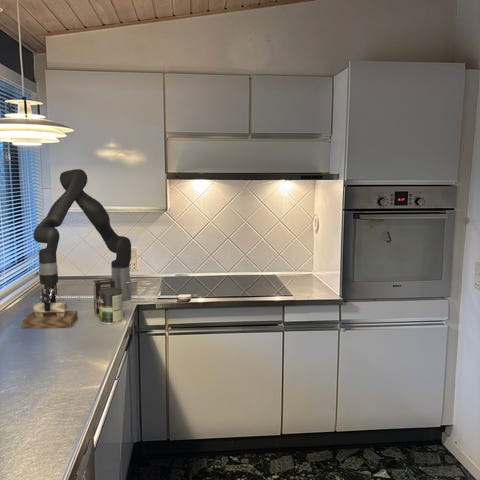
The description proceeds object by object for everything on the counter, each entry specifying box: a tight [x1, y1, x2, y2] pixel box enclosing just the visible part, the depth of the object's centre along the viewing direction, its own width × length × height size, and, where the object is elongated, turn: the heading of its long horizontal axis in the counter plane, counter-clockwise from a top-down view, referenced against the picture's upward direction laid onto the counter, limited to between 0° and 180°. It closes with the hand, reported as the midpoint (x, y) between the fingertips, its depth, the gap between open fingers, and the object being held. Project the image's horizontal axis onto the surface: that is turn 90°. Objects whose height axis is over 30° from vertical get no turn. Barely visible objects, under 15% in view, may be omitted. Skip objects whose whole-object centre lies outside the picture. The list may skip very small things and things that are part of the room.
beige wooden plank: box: [32, 302, 68, 317], centre depth 212 cm, size 13×4×8 cm, turn 95°
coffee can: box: [99, 288, 124, 325], centre depth 217 cm, size 10×10×14 cm
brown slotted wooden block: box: [22, 310, 79, 330], centre depth 213 cm, size 20×12×4 cm, turn 95°
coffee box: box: [92, 278, 115, 317], centre depth 227 cm, size 9×6×16 cm
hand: (50, 308), depth 212 cm, fingers open, 8 cm apart
